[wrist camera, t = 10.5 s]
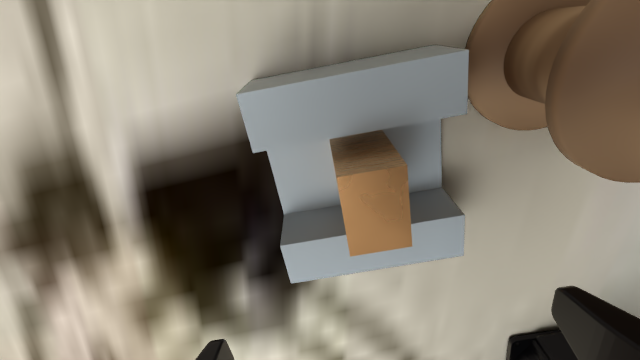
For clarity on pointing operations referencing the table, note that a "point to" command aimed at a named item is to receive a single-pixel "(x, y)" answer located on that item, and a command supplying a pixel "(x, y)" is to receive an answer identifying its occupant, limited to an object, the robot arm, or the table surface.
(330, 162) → the bracket
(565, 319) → the robot arm
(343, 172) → the brown wooden block
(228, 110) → the table surface
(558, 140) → the tan door knob
